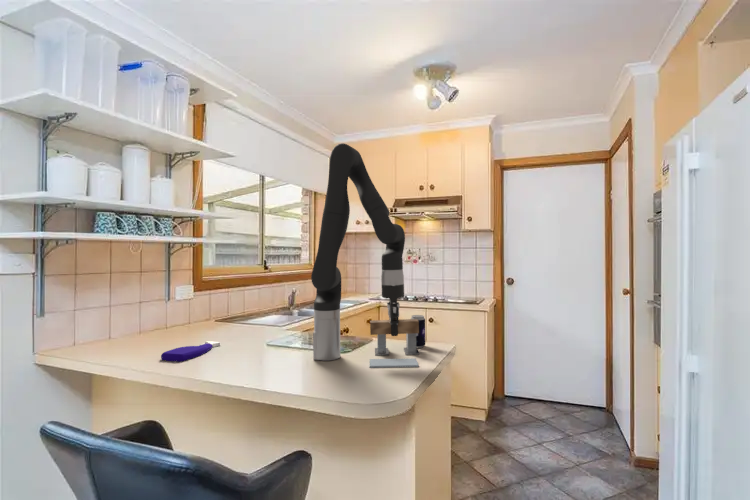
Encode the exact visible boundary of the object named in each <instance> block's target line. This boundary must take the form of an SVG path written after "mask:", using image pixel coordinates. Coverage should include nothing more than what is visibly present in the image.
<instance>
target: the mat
mask: <svg viewBox="0 0 750 500" xmlns="http://www.w3.org/2000/svg"><path fill="white" fill-rule="evenodd" d="M419 366H420V365H419V363H418V360H417V358H413V357H412V358H370V359H369V368H370V369H372V368H373V369H375V368H377V369H379V368H382V369H384V368H419Z"/></svg>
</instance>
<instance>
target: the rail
mask: <svg viewBox="0 0 750 500" xmlns="http://www.w3.org/2000/svg"><path fill="white" fill-rule="evenodd" d="M398 321H399V323H398V335H406V334H412V333H419V321H418V320H417V319H411V318H410V319H409V318H408V319H407V318H406V319H405V318H404V319H398ZM369 326H370V327H369V328H370V329H369V331H370V333H369V334H370V336H373V335H374V336H377V335H381V334H386V335H391V324H390V320H389V319H377V320H375V319H374V320H373V319H372V320H370V321H369Z"/></svg>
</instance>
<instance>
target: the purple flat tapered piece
mask: <svg viewBox="0 0 750 500" xmlns="http://www.w3.org/2000/svg"><path fill="white" fill-rule="evenodd" d="M218 346H219V347H221V342H220V341H212V340H211V341H205V342H204V343H201V344H199V345H188V346H180V347H176V348H173V349H170V350H166V351H164V352H162V353H161V355H160V358H161V361H164V360H166V361H167V362H175V361H176V362H177V363H178V362H179V363H180V362H186V361H189V360H191V359H192V360H193V359H194V358H195V359H196V358H197V357H200V356H202V355H204V354H206V353H207V352H209V351H211V349H212V348H214V347H218Z"/></svg>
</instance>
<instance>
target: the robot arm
mask: <svg viewBox="0 0 750 500" xmlns="http://www.w3.org/2000/svg"><path fill="white" fill-rule="evenodd" d="M349 179H350V180H351V182H352V183H353V185H354V187H355V189H356V191H357V194H358V197H359V200H360V203H361V206H362V207H363V208H364V210H365V213H366V214H367V216H368V218H369V219H370V220H371V224H372V226H373V231H374V233H375V235H376V237H377V239H378V240H379V241H380V242H381V243H382V244H384V245H386V246H385V252H383V254H382V255H381V275H380V277H381V279H380V280H381V297H382V298H384V299H389V301H388V302H387V304H386V306H387V315H388V318H389V319H388V320H390V324H391V334H390V335H391V337H398V335H399V334H398V323H399V321H398V320H399V318H400V308H401V307H400V303H399V302H398V299H403V298H404V297H405V280H404V279H405V275H404V271H403V269H404V267H403V265H404V264H403V255H404V254H403V253H404V250H405V249H404V248H405V242H406V235H405V234H406V232H405V231H404V228H403V227H402V226H401V225H400V224H398V223H393V222H392V220H391V218H390V217H389V216H390V210H389V208H388V206H387V204H386V202H385V201H384V200H383V198H382V195H380V193H379V191H378V190H377V188H376V186H375V185H374V183H373V180H372V178H371V177H370V174H369V172H368V170H367V168H366V165H365V162H364V160H363V158H362V155H361V154H360V152H359V151H358V149H355V148H354V147H353V146H351V145H349V144H346V143H343V142H342V143H338V144H337V145H335V146H333V149H332V150H331V153H330V156H329V165H328V179H327V180H328V181H327V187H326V193H325V200H324V207H323V212H322V217H321V224H320V225H321V226H320V232H319V236H318V237H319V238H318V248H317V253H316V257H315V261H314V264H313V267H312V270H311V271H312V272H311V276H310V277H311V278H310V280H311V284H312V285H313V287H314V288H315V290H316V294H315V299H314V301H313V332H312V340H313V341H312V342H313V343H312V345H313V346H312V351H313V352H312V353H313V360H316V361H317V360H318V361H334V360H338V359H340V358H341V302H342V301H341V300H342V274H341V271H340V268H339V267H338V265H337V264H338V256H339V252H340V249H341V246H342V244H343V242H344V240H345V239H344V238H345V236H346V233H347V231H348V226H349V219H350V213H351V212H350V211H351V210H350V209H351V208H350V207H351V206H350V201H349V194H348V182H349Z"/></svg>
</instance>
